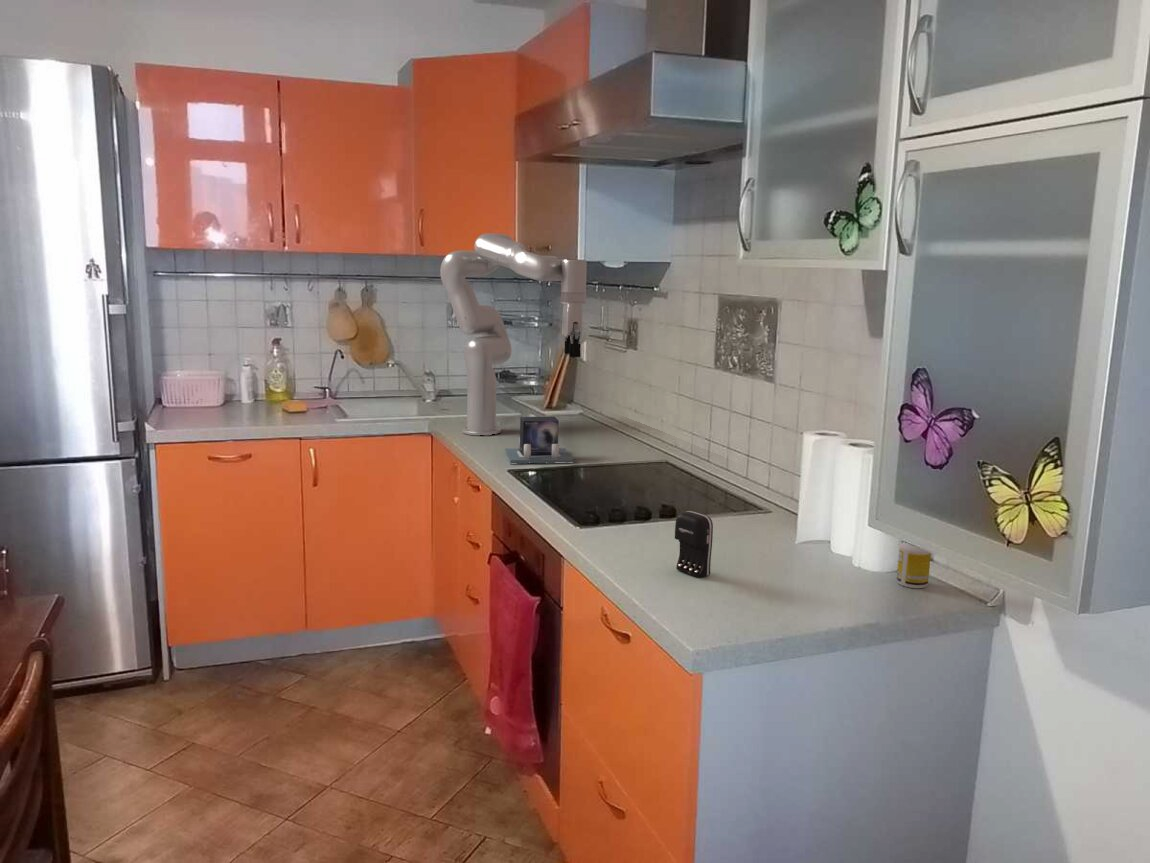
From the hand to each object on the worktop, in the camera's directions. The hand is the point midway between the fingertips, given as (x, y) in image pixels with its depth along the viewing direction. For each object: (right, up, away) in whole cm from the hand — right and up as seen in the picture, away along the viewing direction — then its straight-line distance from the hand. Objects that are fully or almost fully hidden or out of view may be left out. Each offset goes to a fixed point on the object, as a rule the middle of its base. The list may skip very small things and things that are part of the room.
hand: (572, 355), depth 277 cm
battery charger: (+22, -50, -107) cm, 120 cm away
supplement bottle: (+63, -51, -111) cm, 137 cm away
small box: (-10, -30, -12) cm, 34 cm away
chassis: (-10, -31, -12) cm, 35 cm away
